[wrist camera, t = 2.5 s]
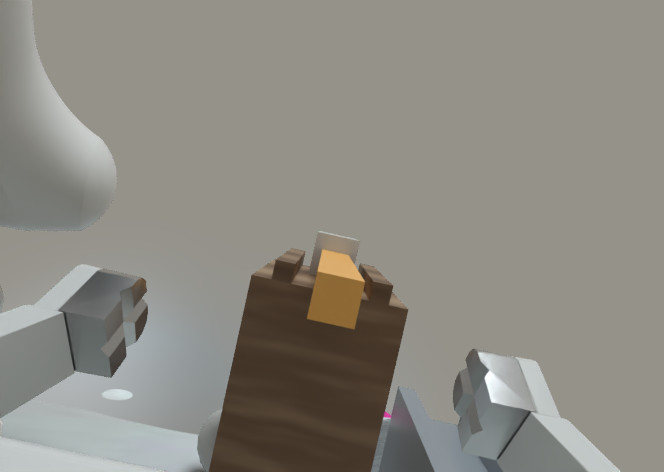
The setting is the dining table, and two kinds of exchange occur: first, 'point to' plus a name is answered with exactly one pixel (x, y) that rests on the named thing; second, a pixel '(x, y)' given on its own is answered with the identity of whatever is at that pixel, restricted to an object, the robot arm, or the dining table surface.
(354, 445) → the walnut post
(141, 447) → the dining table surface
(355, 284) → the orange squared block
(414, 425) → the block
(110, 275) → the robot arm
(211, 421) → the donut
